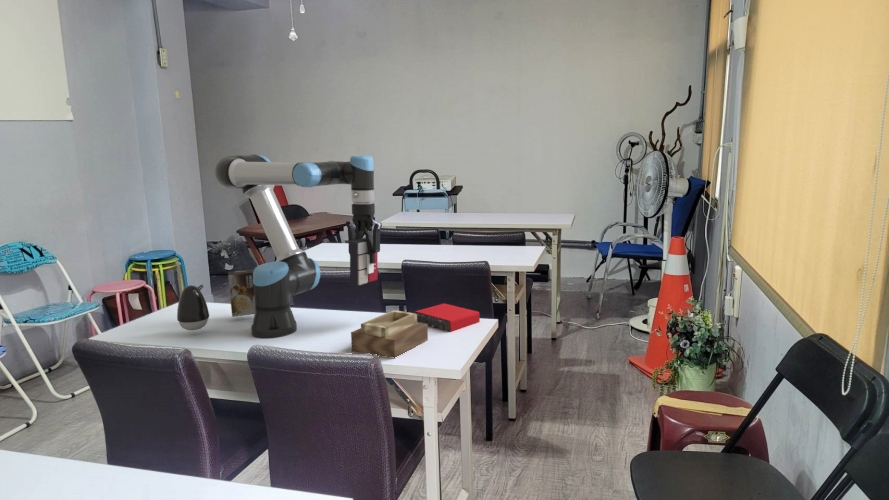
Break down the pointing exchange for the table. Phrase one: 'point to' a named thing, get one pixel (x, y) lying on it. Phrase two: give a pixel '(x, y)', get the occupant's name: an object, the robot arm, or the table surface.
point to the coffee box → (241, 292)
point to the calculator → (360, 263)
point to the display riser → (389, 334)
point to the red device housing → (447, 317)
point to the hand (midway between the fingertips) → (365, 272)
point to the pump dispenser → (192, 308)
